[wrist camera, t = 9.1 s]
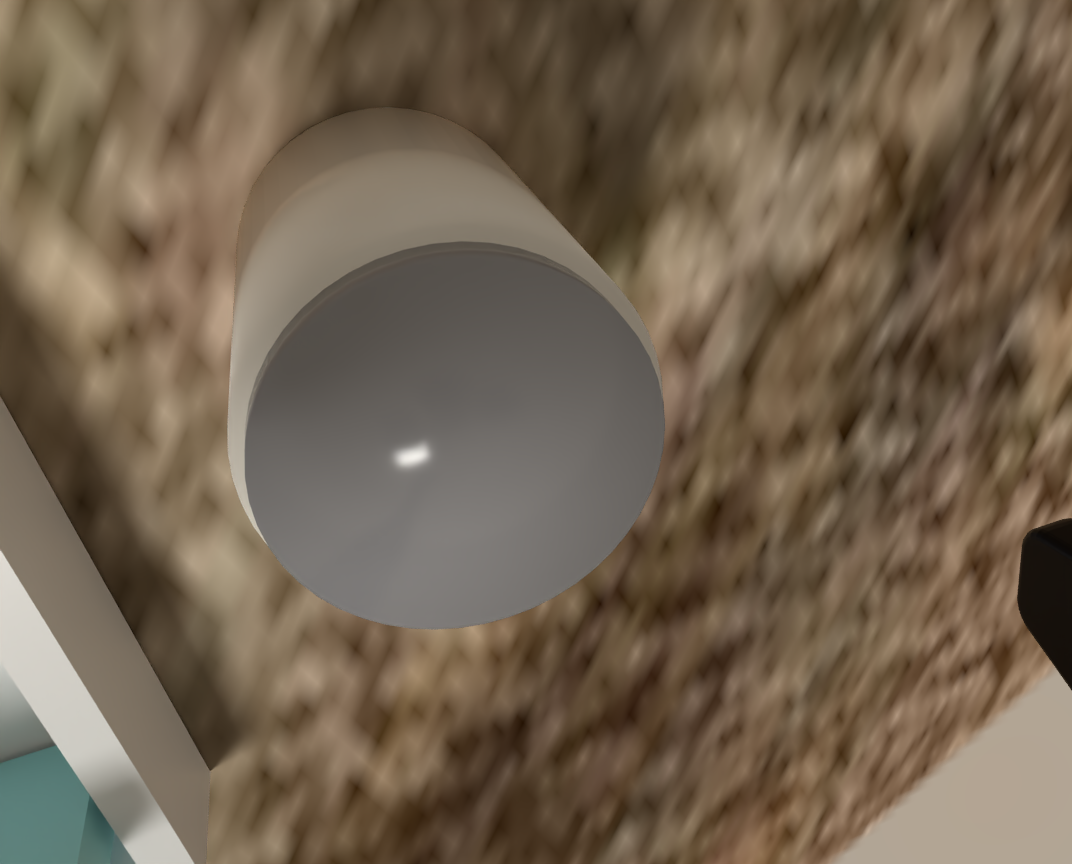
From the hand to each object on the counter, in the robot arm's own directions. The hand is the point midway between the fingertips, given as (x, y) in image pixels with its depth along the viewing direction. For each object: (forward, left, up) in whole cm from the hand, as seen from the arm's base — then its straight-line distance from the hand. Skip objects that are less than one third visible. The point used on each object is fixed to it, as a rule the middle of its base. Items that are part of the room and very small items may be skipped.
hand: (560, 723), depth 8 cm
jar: (0, 0, -12) cm, 12 cm away
